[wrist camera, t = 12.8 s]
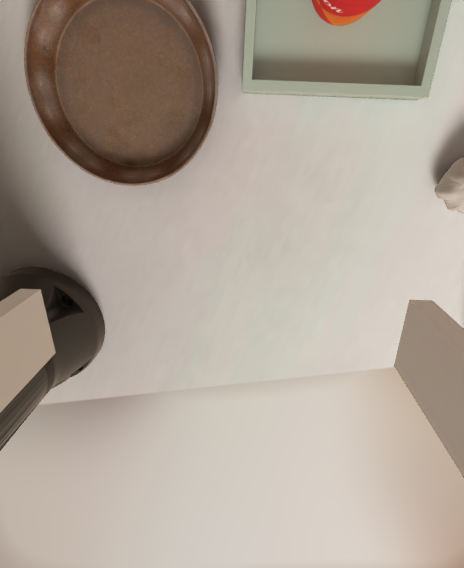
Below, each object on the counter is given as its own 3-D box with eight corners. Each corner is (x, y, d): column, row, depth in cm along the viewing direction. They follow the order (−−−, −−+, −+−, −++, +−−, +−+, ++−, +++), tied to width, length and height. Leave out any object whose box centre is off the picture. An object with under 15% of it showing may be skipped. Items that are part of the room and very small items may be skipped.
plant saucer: (157, 215, 38) (149, 222, 35) (14, 107, 35) (-7, 104, 32) (259, 68, 32) (259, 61, 29) (96, -81, 28) (77, -106, 26)
